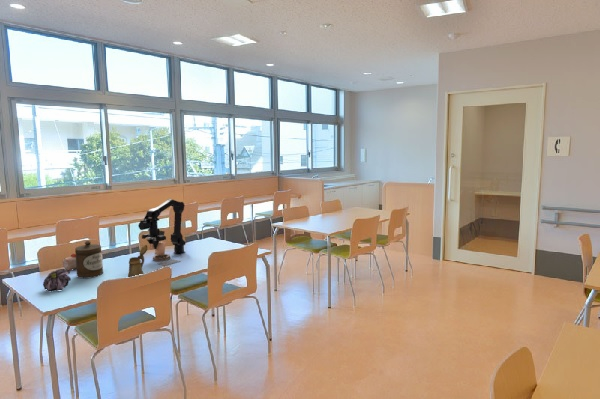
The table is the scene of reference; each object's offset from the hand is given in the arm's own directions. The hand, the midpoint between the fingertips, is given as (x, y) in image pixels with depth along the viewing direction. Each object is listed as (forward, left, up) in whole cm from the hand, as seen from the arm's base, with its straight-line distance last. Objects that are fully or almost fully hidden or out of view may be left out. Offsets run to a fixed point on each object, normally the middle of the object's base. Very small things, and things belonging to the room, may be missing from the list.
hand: (154, 248), depth 286 cm
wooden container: (+43, -7, -9) cm, 44 cm away
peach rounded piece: (-2, 0, -5) cm, 5 cm away
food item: (+41, -30, -9) cm, 52 cm away
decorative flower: (+67, +3, -9) cm, 67 cm away
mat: (-2, +13, -9) cm, 16 cm away
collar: (-5, 0, -9) cm, 10 cm away
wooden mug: (+25, +19, -9) cm, 32 cm away
